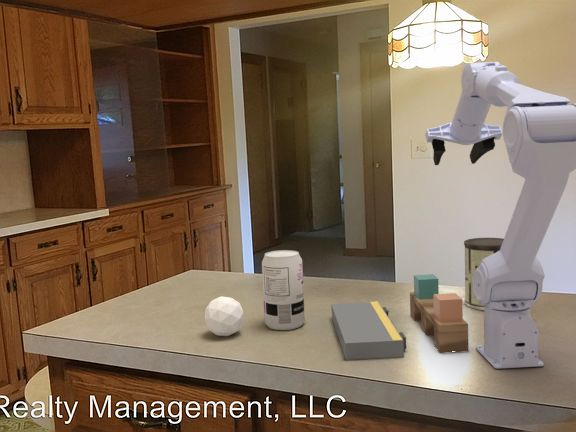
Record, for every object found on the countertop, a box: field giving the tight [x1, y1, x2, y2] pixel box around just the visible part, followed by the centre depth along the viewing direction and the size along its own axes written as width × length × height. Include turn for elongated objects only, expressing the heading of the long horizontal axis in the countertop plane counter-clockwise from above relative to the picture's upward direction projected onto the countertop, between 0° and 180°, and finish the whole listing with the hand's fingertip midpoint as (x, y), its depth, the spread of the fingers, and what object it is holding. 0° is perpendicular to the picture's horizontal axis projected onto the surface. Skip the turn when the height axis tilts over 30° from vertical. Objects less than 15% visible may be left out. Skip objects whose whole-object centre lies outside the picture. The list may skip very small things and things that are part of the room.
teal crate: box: [413, 274, 440, 299], centre depth 120 cm, size 4×4×4 cm
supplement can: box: [261, 249, 306, 331], centre depth 121 cm, size 8×8×15 cm
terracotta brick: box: [433, 292, 464, 322], centre depth 105 cm, size 4×4×4 cm
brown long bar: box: [409, 291, 469, 353], centre depth 113 cm, size 22×5×5 cm, turn 1°
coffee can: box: [463, 237, 504, 311], centre depth 129 cm, size 10×10×14 cm
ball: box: [204, 295, 245, 337], centre depth 117 cm, size 8×8×8 cm
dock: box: [330, 300, 407, 361], centre depth 113 cm, size 24×11×3 cm, turn 1°
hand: (454, 160), depth 123 cm, fingers open, 7 cm apart
